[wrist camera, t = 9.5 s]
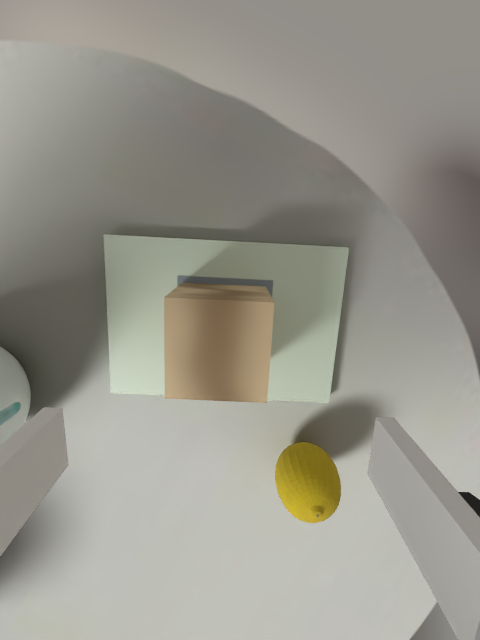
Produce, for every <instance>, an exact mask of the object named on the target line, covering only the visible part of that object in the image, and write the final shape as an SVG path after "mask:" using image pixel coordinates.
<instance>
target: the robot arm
mask: <svg viewBox="0 0 480 640" xmlns="http://www.w3.org/2000/svg"><path fill="white" fill-rule="evenodd" d="M67 466H68V457H67V447H66V438H65V428H64V418H63V409H62V408H53V407H44V408H42V409H41V410H40V411H39V412H38V413H37V414H36V415H34V416H33V417H32V418H31V419H30V420H29V421H28V422H26V423H25V424H24V425H23V426H22V427H21V428H20V429H19V430H17V431H16V432H15V433H14V434H13V435H12V436H11V437H9V438H8V439H7V440H6V441H5V442H4V443H3V444H1V445H0V556H1V555H2V554H3V552H4V551H5V550H6V548H7V547H8V546H9V544H10V543H11V541H12V540H13V539H14V537H15V536H16V535H17V533H18V532H19V531H20V529H21V528H22V527H23V525H24V524H25V523H26V521H27V520H28V519H29V517H30V516H31V515H32V513H33V512H34V511H35V509H36V508H37V506H38V505H39V504H40V502H41V501H42V500H43V498H44V497H45V496H46V494H47V493H48V492H49V490H50V489H51V488H52V486H53V485H54V484H55V482H56V481H57V480H58V478H59V477H60V476H61V474H62V473H63V471H64V470H65V469H66V467H67ZM368 475H369V477H370V479H371V481H372V483H373V484H374V486H375V488H376V490H377V492H378V494H379V495H380V497H381V499H382V501H383V503H384V505H385V506H386V508H387V510H388V512H389V514H390V516H391V517H392V519H393V521H394V523H395V525H396V526H397V528H398V530H399V532H400V534H401V536H402V537H403V539H404V541H405V543H406V545H407V547H408V548H409V550H410V552H411V554H412V556H413V558H414V559H415V561H416V563H417V565H418V567H419V569H420V570H421V572H422V574H423V576H424V578H425V580H426V581H427V583H428V585H429V587H430V589H431V591H432V592H433V594H434V596H435V598H436V600H437V601H438V603H439V605H440V607H441V609H442V611H443V612H444V614H445V616H446V618H447V620H448V622H449V623H450V625H451V627H452V629H453V631H454V632H455V634H456V636H457V638H458V640H480V500H479V499H478V498H476V497H475V496H473V495H472V494H471V493H469V492H457V490H456V489H455V488H454V487H453V486H452V485H451V484H450V482H449V481H448V480H447V479H446V478H445V477H444V475H443V474H442V473H441V472H440V471H439V470H438V468H437V467H436V466H435V465H434V464H433V463H432V461H431V460H430V459H429V458H428V457H427V456H426V454H425V453H424V452H423V451H422V450H421V449H420V447H419V446H418V445H417V444H416V443H415V442H414V441H413V439H412V438H411V437H410V436H409V435H408V434H407V432H406V431H405V430H404V429H403V428H402V427H401V425H400V424H399V423H398V422H397V421H396V420H395V418H383V417H376V420H375V427H374V434H373V440H372V447H371V453H370V460H369V466H368Z"/></svg>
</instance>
